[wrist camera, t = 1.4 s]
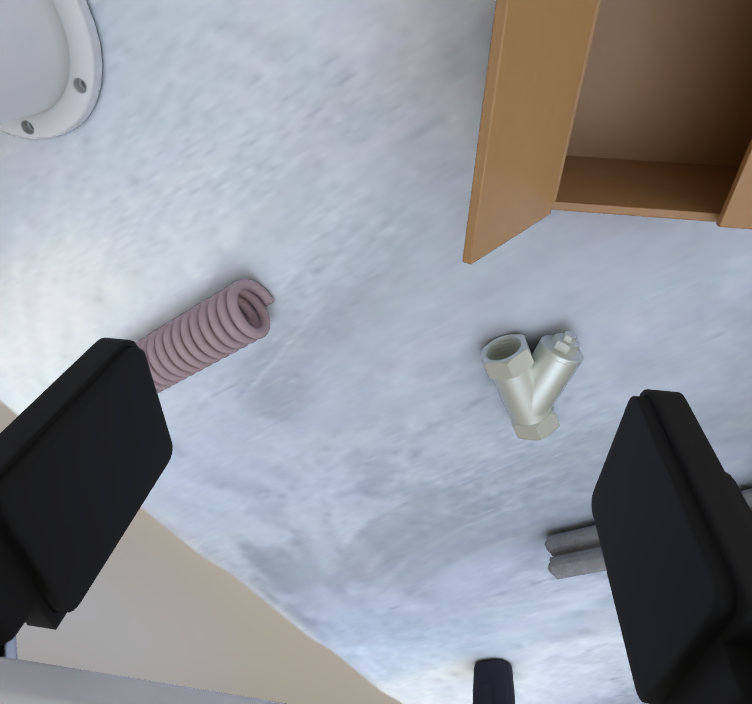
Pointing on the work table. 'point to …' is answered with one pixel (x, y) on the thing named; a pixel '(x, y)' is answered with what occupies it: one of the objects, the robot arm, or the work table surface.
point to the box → (663, 113)
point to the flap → (525, 116)
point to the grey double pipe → (584, 550)
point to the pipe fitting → (532, 378)
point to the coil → (207, 333)
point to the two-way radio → (493, 683)
